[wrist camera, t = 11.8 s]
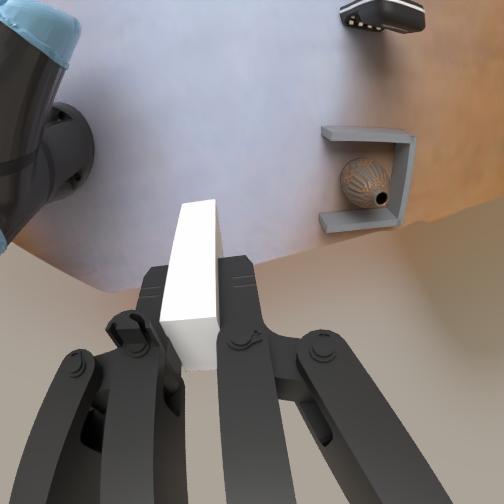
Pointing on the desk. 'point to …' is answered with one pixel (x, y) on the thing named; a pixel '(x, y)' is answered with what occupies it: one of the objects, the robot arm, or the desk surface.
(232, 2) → the desk surface
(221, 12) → the desk surface
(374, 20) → the battery charger
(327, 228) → the box
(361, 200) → the vase
